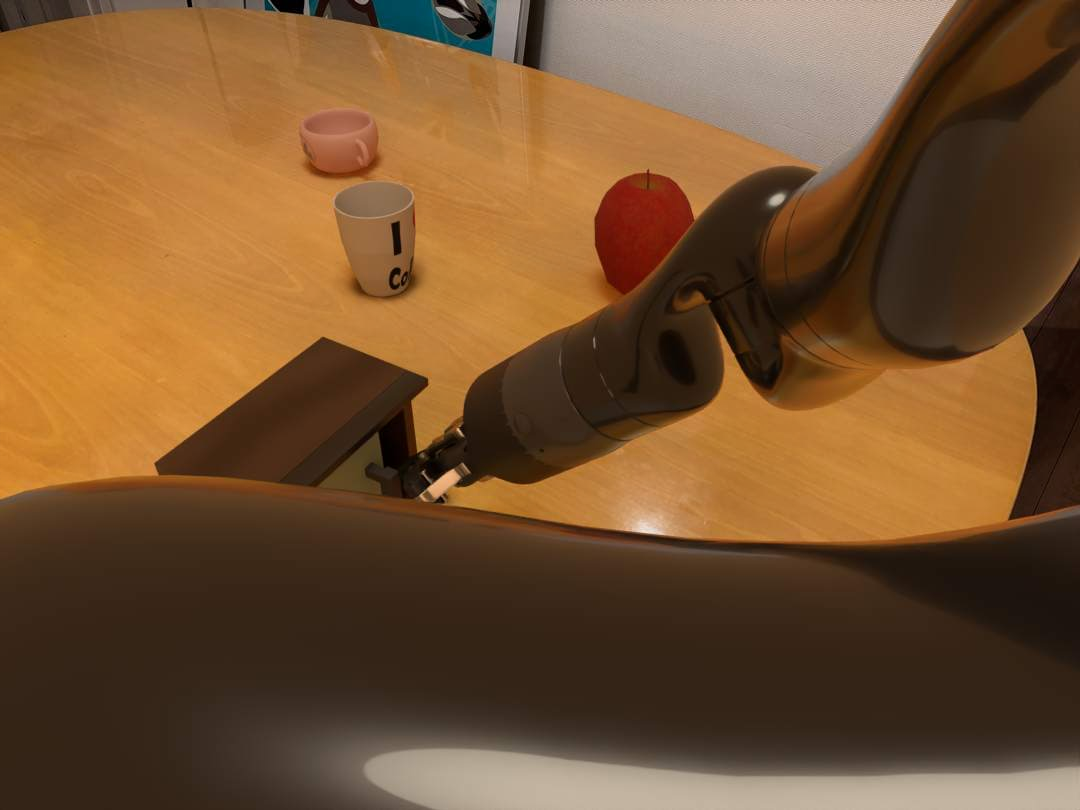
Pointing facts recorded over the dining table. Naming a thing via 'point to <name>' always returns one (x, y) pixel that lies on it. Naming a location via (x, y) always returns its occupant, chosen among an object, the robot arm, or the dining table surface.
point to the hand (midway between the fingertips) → (407, 477)
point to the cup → (378, 234)
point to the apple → (639, 227)
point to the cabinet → (306, 421)
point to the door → (366, 472)
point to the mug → (339, 139)
